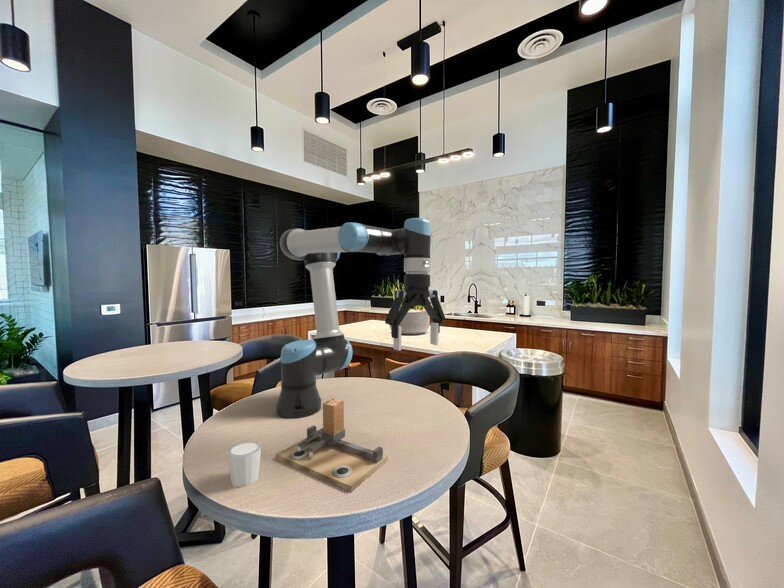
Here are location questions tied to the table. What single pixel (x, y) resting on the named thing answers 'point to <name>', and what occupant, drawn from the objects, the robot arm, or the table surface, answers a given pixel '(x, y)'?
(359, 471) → the bolt plate
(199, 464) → the table surface
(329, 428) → the block
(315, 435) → the fixed leg
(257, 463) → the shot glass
